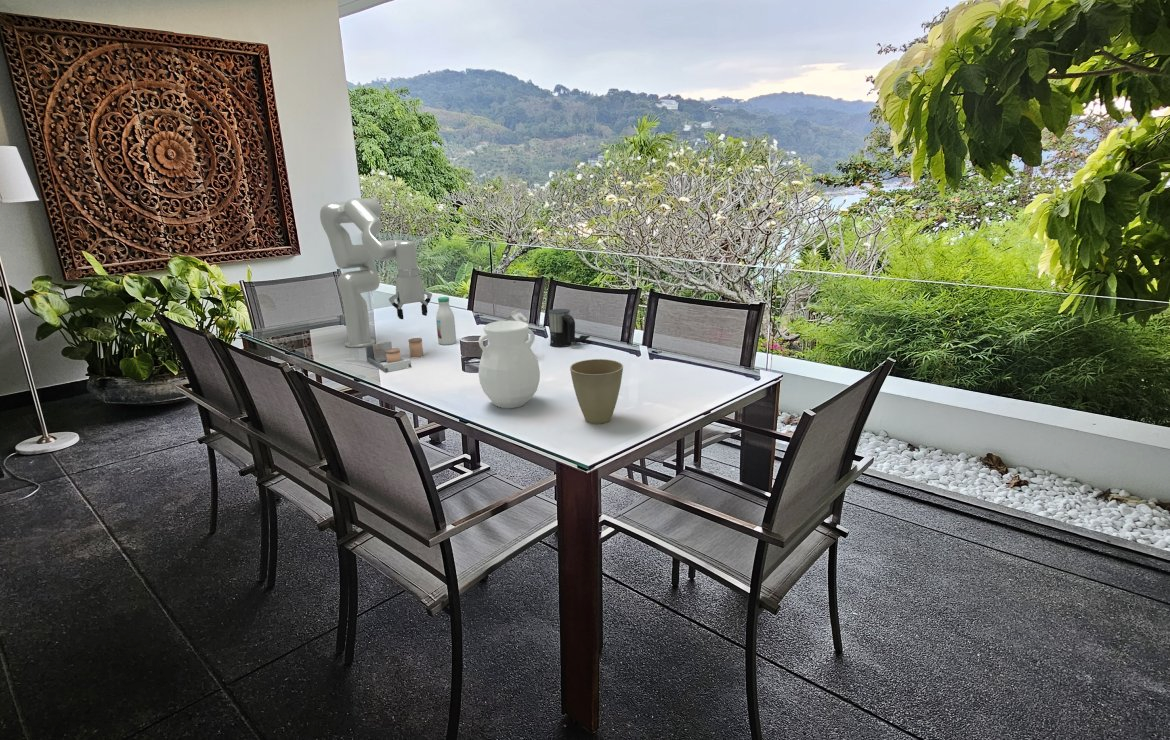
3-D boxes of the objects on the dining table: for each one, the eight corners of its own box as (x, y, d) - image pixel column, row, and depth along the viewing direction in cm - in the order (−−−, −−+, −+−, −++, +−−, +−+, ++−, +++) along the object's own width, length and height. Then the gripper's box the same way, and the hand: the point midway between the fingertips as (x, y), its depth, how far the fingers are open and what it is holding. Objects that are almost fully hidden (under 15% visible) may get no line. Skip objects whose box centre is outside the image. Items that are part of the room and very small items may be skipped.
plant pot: (580, 408, 186) (579, 357, 181) (628, 412, 181) (628, 360, 177) (564, 426, 172) (562, 372, 167) (616, 431, 168) (615, 375, 163)
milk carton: (505, 359, 240) (502, 311, 234) (513, 355, 246) (511, 308, 241) (521, 361, 237) (518, 312, 232) (529, 356, 243) (527, 309, 238)
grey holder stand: (367, 361, 242) (365, 346, 240) (392, 356, 248) (390, 342, 246) (385, 372, 227) (383, 356, 225) (411, 367, 233) (409, 352, 231)
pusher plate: (368, 358, 245) (366, 341, 243) (386, 355, 249) (384, 338, 247) (375, 362, 239) (373, 344, 237) (393, 359, 243) (391, 341, 241)
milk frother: (545, 345, 260) (543, 311, 256) (567, 338, 272) (566, 304, 268) (572, 350, 252) (571, 314, 248) (593, 341, 264) (593, 307, 260)
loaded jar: (385, 367, 233) (383, 349, 231) (399, 365, 236) (397, 347, 234) (390, 370, 229) (388, 352, 227) (404, 367, 232) (402, 350, 230)
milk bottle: (458, 340, 271) (454, 295, 266) (453, 345, 264) (449, 299, 258) (441, 340, 272) (437, 296, 266) (435, 345, 265) (431, 299, 259)
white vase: (489, 418, 180) (483, 334, 172) (474, 399, 196) (468, 322, 189) (549, 408, 187) (546, 327, 179) (530, 390, 203) (526, 316, 196)
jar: (408, 356, 248) (406, 339, 246) (420, 353, 251) (418, 337, 249) (413, 358, 244) (411, 341, 242) (425, 356, 247) (424, 339, 245)
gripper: (425, 270, 246) (429, 312, 251) (382, 275, 236) (388, 318, 241) (433, 272, 240) (437, 315, 245) (389, 276, 230) (395, 321, 235)
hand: (413, 317), depth 243 cm, fingers open, 9 cm apart
